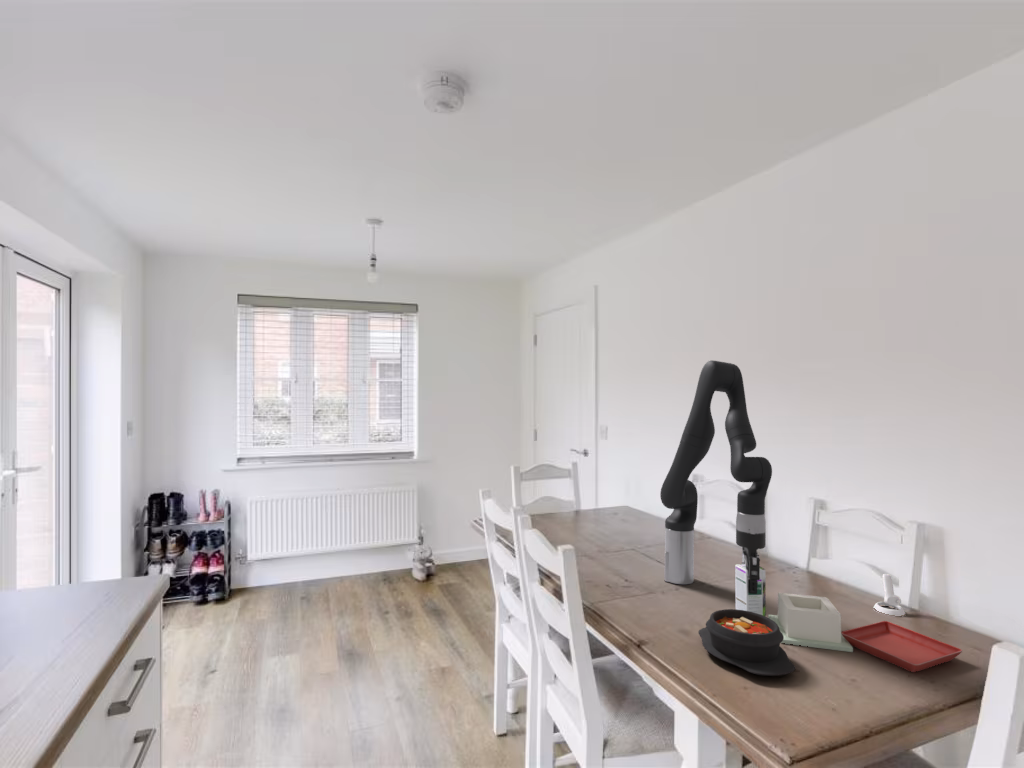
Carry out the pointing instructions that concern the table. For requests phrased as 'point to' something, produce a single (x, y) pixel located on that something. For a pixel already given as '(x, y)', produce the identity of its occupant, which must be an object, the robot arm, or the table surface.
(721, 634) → the casserole
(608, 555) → the table surface
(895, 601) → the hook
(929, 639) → the plant saucer
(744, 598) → the syrup box
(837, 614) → the box
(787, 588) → the table surface
